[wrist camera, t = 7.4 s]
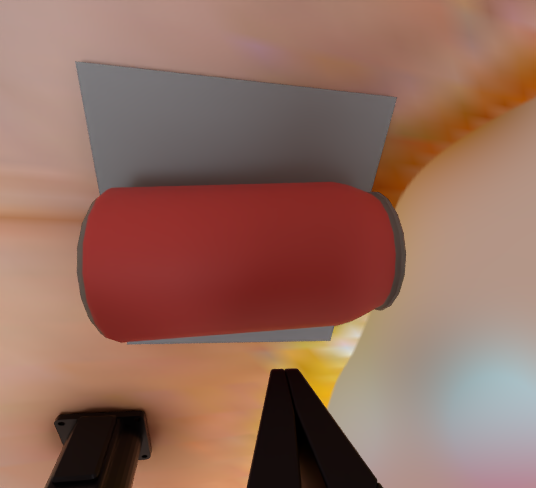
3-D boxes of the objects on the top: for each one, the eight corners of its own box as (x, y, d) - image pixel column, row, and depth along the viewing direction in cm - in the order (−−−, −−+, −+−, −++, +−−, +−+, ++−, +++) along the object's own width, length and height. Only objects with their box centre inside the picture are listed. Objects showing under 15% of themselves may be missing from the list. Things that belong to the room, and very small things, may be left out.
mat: (328, 335, 22) (330, 340, 21) (129, 338, 20) (127, 344, 19) (392, 96, 14) (396, 97, 14) (80, 62, 12) (75, 61, 12)
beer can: (44, 206, 9) (429, 194, 10) (122, 177, 15) (353, 171, 16) (92, 382, 11) (400, 353, 12) (143, 293, 17) (343, 280, 18)
